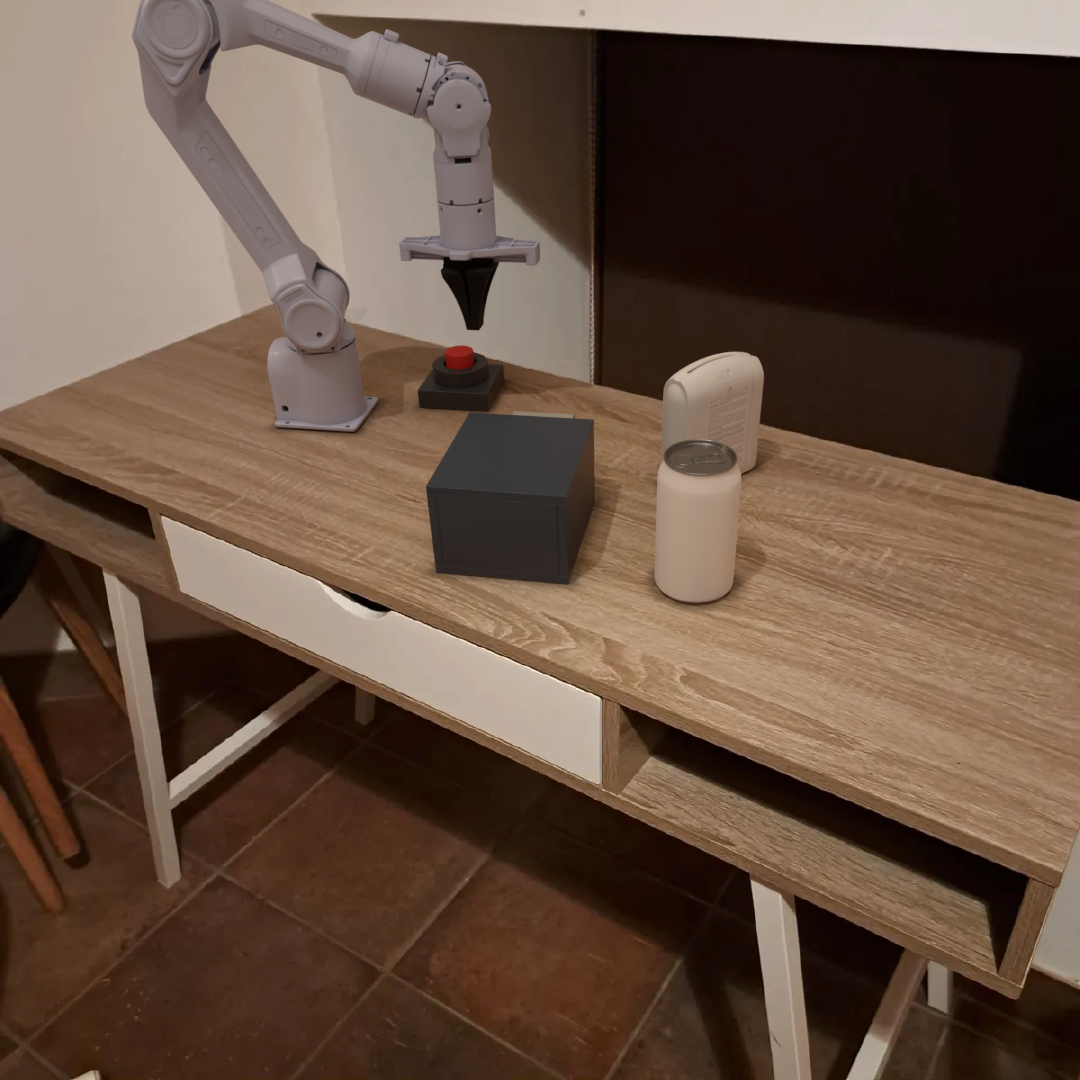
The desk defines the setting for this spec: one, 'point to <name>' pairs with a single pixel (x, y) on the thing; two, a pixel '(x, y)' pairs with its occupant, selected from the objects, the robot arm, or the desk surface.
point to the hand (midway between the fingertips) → (475, 326)
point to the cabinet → (513, 497)
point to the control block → (461, 385)
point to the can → (697, 520)
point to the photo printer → (716, 404)
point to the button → (459, 357)
